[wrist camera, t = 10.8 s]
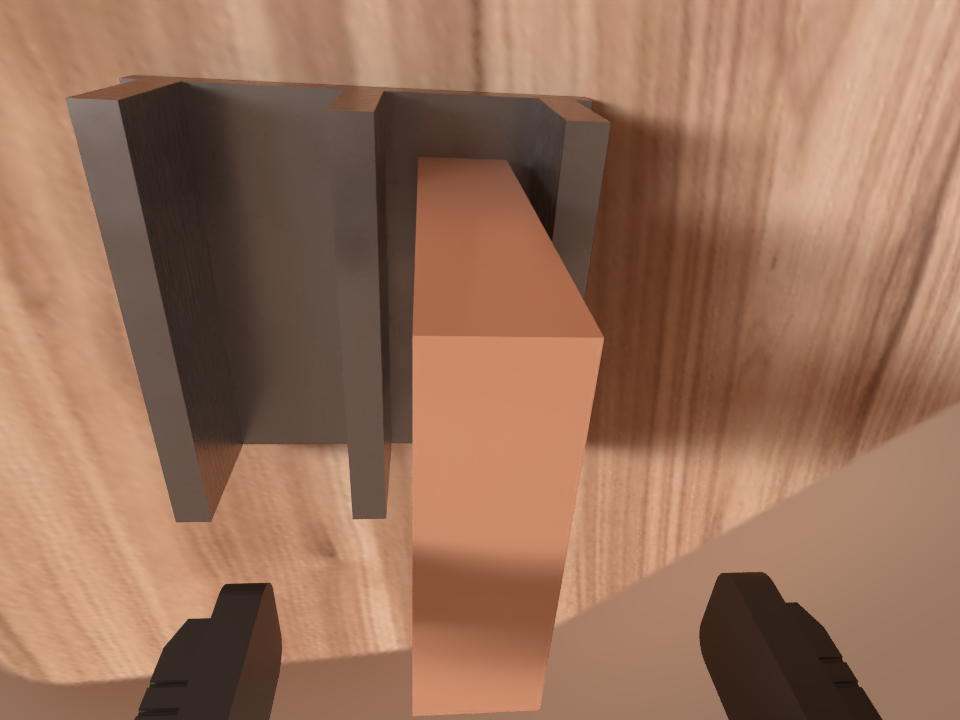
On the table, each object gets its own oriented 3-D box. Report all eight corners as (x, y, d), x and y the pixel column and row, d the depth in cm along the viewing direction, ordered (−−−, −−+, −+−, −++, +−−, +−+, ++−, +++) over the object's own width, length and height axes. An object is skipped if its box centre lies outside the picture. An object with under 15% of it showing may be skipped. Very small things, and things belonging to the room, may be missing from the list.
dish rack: (132, 75, 20) (39, 96, 15) (585, 97, 21) (632, 123, 16) (205, 430, 27) (158, 522, 22) (542, 428, 28) (567, 515, 23)
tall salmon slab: (418, 156, 21) (412, 335, 9) (506, 160, 21) (603, 337, 10) (417, 404, 26) (412, 715, 14) (488, 404, 26) (539, 710, 15)
